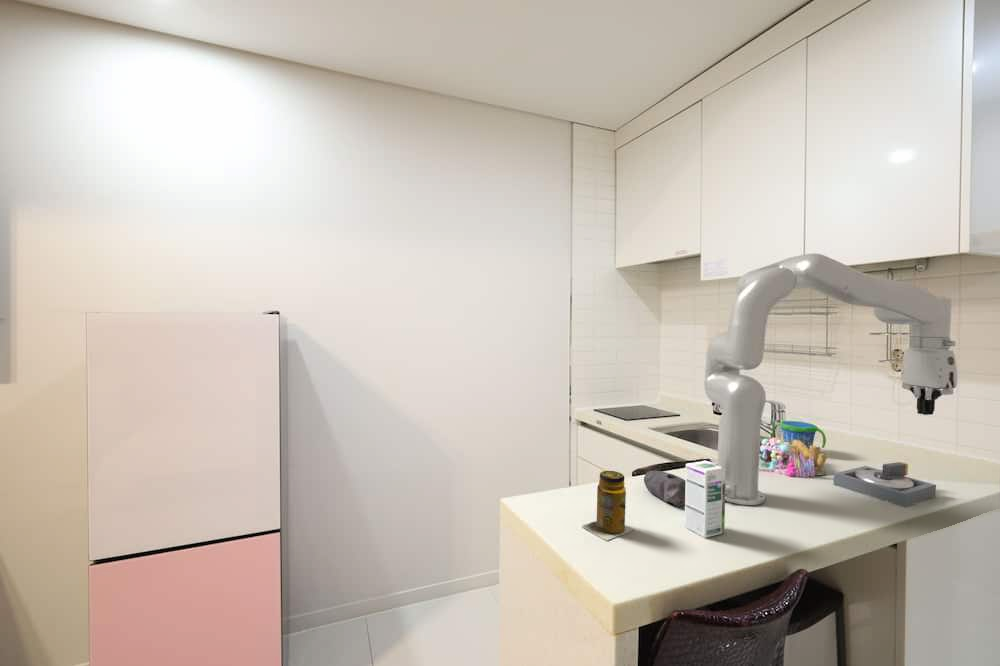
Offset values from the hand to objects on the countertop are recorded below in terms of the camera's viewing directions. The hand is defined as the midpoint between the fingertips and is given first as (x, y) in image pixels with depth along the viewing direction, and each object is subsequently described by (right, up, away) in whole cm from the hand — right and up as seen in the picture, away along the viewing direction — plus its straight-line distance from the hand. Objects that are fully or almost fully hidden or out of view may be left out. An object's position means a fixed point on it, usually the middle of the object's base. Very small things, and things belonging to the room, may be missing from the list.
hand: (925, 413), depth 117 cm
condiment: (-88, -22, -20) cm, 93 cm away
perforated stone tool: (-69, -21, -3) cm, 73 cm away
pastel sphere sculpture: (-23, -21, +26) cm, 41 cm away
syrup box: (-67, -22, -20) cm, 73 cm away
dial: (-5, -20, +5) cm, 21 cm away
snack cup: (-8, -21, +38) cm, 44 cm away
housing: (-7, -22, +5) cm, 23 cm away
